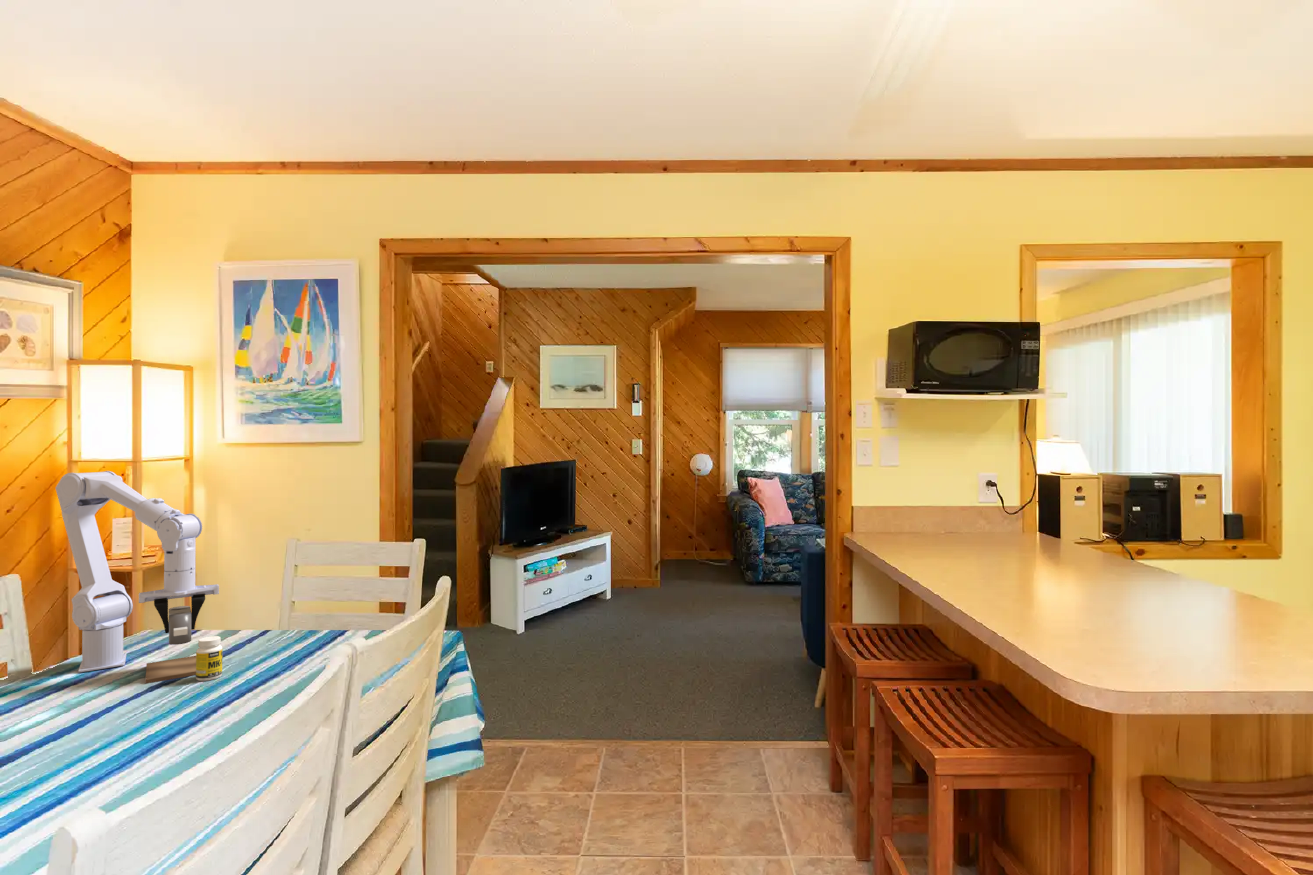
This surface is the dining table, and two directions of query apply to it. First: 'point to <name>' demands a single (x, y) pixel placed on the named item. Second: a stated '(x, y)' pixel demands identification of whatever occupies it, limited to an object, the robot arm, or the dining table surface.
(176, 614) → the grey rounded piece
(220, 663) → the supplement bottle
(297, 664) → the dining table surface
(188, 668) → the walnut board
